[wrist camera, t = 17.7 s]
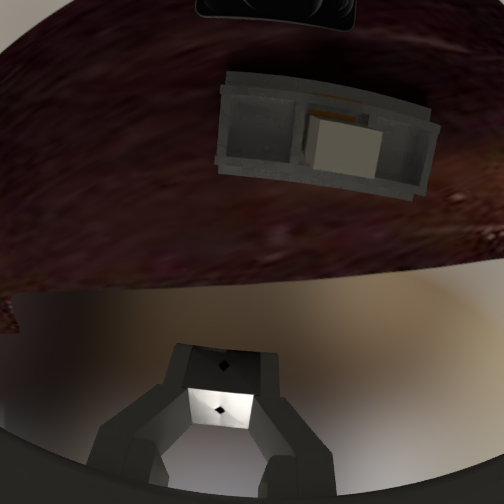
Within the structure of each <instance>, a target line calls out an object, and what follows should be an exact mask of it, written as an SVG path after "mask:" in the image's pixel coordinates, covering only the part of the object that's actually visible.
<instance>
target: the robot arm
mask: <svg viewBox="0 0 504 504" xmlns="http://www.w3.org/2000/svg"><path fill="white" fill-rule="evenodd" d="M278 362H279V361H278V354H277V353H265V352H252V351H239V350H224V349H217V348H209V347H202V346H195V345H187V344H181V343H177V344H176V345H175V346H174V349H173V352H172V356H171V359H170V362H169V365H168V369H167V372H166V376H165V379H164V382H163V385H161V384H157V385H156V386H154V387H153V388H152V389H151V390H149V391H148V392H146V393H145V394H144V395H143V396H141V397H140V398H138V399H137V400H136V401H134V402H133V403H132V404H130V405H129V406H128V407H126V408H125V409H124V410H122V411H121V412H119V413H118V414H117V415H115V416H114V417H113V418H111V419H110V420H109V421H107V422H106V423H104V424H103V425H101V426H100V428H99V431H98V434H97V436H96V439H95V441H94V444H93V447H92V450H91V452H90V455H89V458H88V461H87V464H86V465H84V464H81V463H78V462H75V461H72V460H70V459H67V458H65V457H62V456H60V455H57V454H55V453H53V452H50V451H48V450H46V449H43V448H41V447H39V446H37V445H35V444H32V443H30V442H28V441H26V440H24V439H22V438H20V437H18V436H16V435H14V434H12V433H10V432H8V431H7V430H5V429H3V428H1V427H0V504H504V454H502V455H500V456H497V457H495V458H492V459H490V460H487V461H485V462H482V463H480V464H477V465H474V466H471V467H468V468H465V469H463V470H460V471H457V472H453V473H450V474H447V475H443V476H440V477H437V478H433V479H429V480H425V481H421V482H417V483H413V484H408V485H404V486H400V487H394V488H389V489H383V490H377V491H371V492H365V493H357V494H349V495H339V496H337V492H336V482H335V473H334V464H333V455H332V453H331V452H330V451H329V449H328V448H327V447H326V446H325V445H324V444H323V442H322V441H321V440H320V439H319V438H318V437H317V436H316V435H315V433H314V432H313V431H312V430H311V428H310V427H309V426H308V425H307V424H306V423H305V421H304V420H303V419H302V418H301V417H300V415H299V414H298V413H297V412H296V411H295V409H294V408H293V407H292V406H291V404H290V403H289V402H288V401H287V400H286V398H284V397H280V389H279V363H278ZM192 423H199V424H209V425H220V426H227V427H236V428H246V429H248V431H249V432H250V434H251V436H252V437H253V439H254V441H255V442H256V444H257V445H258V447H259V449H260V451H261V452H262V454H263V455H264V457H265V459H266V460H267V461H268V463H267V466H266V468H265V471H264V474H263V477H262V479H261V482H260V485H259V488H258V498H252V497H236V496H225V495H215V494H207V493H199V492H192V491H186V490H180V489H174V488H168V487H167V486H168V481H169V475H168V473H167V471H166V468H165V466H164V463H163V461H162V458H161V455H162V454H163V453H164V452H165V451H166V450H167V449H168V448H169V447H170V446H171V445H172V444H173V443H174V442H175V441H176V440H177V439H178V438H179V437H180V436H181V435H182V434H183V433H184V432H185V431H186V430H187V429H188V428H189V426H191V425H192Z"/></svg>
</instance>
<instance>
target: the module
mask: <svg viewBox="0 0 504 504" xmlns="http://www.w3.org/2000/svg"><path fill="white" fill-rule="evenodd" d="M382 134H383V132H381V131H379V130H376V129H373V128H370V127H368V126H365V125H362V124H359V123H356V122H352V121H347V120H342V119H336V118H331V117H325V116H319V115H313V114H307V122H306V129H305V137H304V144H303V151H304V153H305V155H306V157H307V159H308V161H309V162H310V164H311V166H312V168H313V169H316V170H323V171H329V172H336V173H342V174H348V175H353V176H359V177H365V178H370V179H374V176H375V172H376V167H377V162H378V156H379V151H380V146H381V140H382Z"/></svg>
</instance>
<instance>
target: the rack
mask: <svg viewBox="0 0 504 504" xmlns="http://www.w3.org/2000/svg"><path fill="white" fill-rule="evenodd" d="M220 94H222V95H221V107H220V119H219V132H218V145H217V154H216V155H215V164H214V165H219V168H218V174H229V175H239V176H249V177H258V178H267V179H275V180H284V181H291V182H299V183H306V184H314V185H320V186H327V187H334V188H340V189H346V190H353V191H359V192H364V193H370V194H376V195H381V196H387V197H392V198H397V199H402V200H407V201H412V200H413V196H414V194H418V195H422V196H426V192H427V188H426V187H427V183H428V178H429V174H430V170H431V165H432V161H433V156H434V152H435V147H436V142H437V136H438V133H440V127H441V126H440V125H437V124H434V123H431V122H429V120H430V114H431V109H429V108H426V107H423V106H420V105H417V104H414V103H410V102H407V101H403V100H400V99H396V98H393V97H389V96H385V95H382V94H378V93H374V92H369V91H365V90H361V89H356V88H352V87H347V86H342V85H337V84H332V83H327V82H321V81H315V80H309V79H302V78H295V77H288V76H280V75H271V74H261V73H249V72H235V71H226V81H225V85H221V86H220ZM307 114H313V115H319V116H325V117H331V118H336V119H342V120H347V121H352V122H356V123H359V124H362V125H365V126H368V127H370V128H373V129H376V130H379V131H381V132H383V134H382V140H381V146H380V151H379V156H378V162H377V167H376V172H375V176H374V179H370V178H365V177H359V176H353V175H348V174H342V173H336V172H329V171H323V170H316V169H313V168H312V166H311V164H310V162H309V161H308V159H307V157H306V155H305V153H304V151H303V144H304V137H305V129H306V122H307Z"/></svg>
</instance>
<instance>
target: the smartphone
mask: <svg viewBox="0 0 504 504" xmlns="http://www.w3.org/2000/svg"><path fill="white" fill-rule="evenodd" d="M356 4H357V0H196V3H195V10H196V12H197V13H198V14H199V15H200V16H201V17H204V18H231V19H248V20H267V21H277V22H285V23H293V24H300V25H307V26H313V27H319V28H324V29H329V30H334V31H339V32H348V31H350V30H351V29H352V28H353V27H354V25H355V16H356Z"/></svg>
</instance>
